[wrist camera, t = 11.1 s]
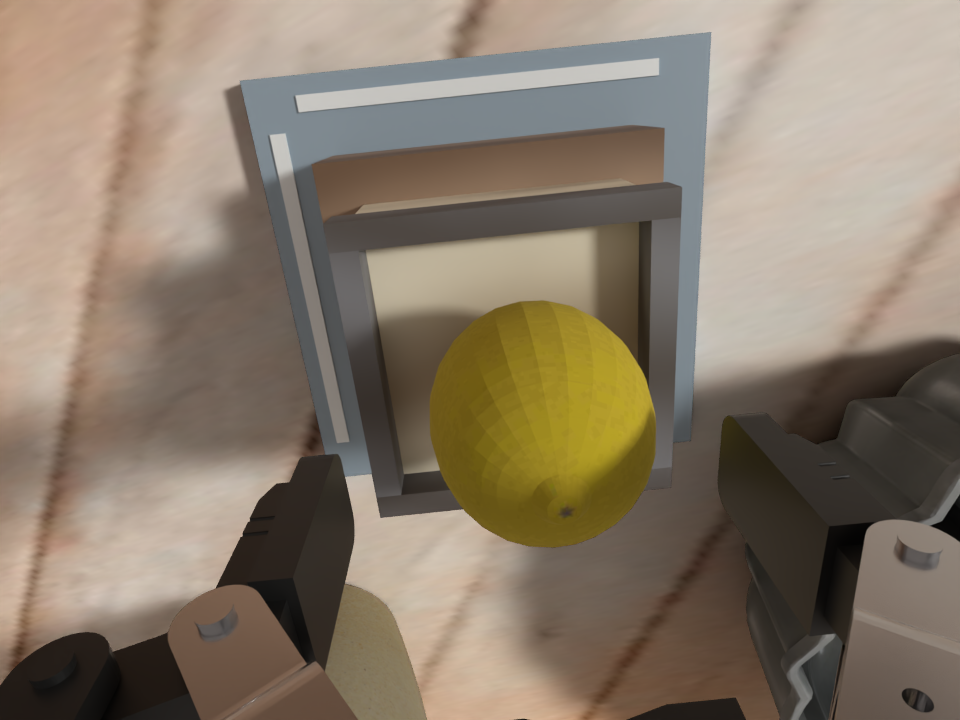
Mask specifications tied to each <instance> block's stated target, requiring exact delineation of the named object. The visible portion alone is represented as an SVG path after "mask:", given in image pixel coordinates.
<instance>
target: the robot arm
mask: <svg viewBox="0 0 960 720" xmlns="http://www.w3.org/2000/svg"><path fill="white" fill-rule="evenodd" d="M718 489H719V495H720V498H721V501H722V504H723V506H724V508H725V510H726V512H727V513H728V515H729V516H730V518H731V519H732V521H733V522H734V524H735V525H736V527H737V528H738V530H739V531H740V533H741V534H742V536H743V537H744V539H745V540H746V542H747V543H748V545H749V546H750V548H751V549H752V551H753V552H754V554H755V555H756V557H757V558H758V560H759V561H760V563H761V564H762V566H763V567H764V569H765V570H766V572H767V573H768V575H769V576H770V578H771V579H772V581H773V582H774V584H775V585H776V587H777V588H778V590H779V591H780V593H781V594H782V596H783V597H784V599H785V600H786V602H787V603H788V605H789V607H790V608H791V610H792V611H793V613H794V614H795V616H796V617H797V619H798V620H799V622H800V623H801V625H802V626H803V628H804V629H805V631H806V632H807V634H808V635H809V636H817V635H827V634H837V636H838V637H839V638H840V640H841V641H842V648H841V652H840V657H839V663H838V668H837V674H836V680H835V685H834V691H833V697H832V702H831V708H830V714H829V719H828V720H960V542H959V541H957V540H956V539H955V538H953V537H952V536H950V535H948V534H946V533H944V532H942V531H940V530H938V529H936V528H933V527H931V526H928V525H925V524H921V523H917V522H913V521H906V520H897V519H896V518H895V517H894V516H893V515H892V514H891V513H890V512H889V511H888V510H887V509H886V508H885V507H883V506H882V505H881V504H880V503H879V502H878V501H877V500H876V499H875V498H874V497H873V496H872V495H871V494H870V493H869V492H868V491H867V490H865V489H864V488H863V487H862V486H861V485H860V484H859V483H858V482H857V481H856V480H855V479H854V478H850V474H849V473H847V472H846V471H845V470H844V469H843V468H842V467H841V466H840V465H836V461H835V460H834V459H833V458H832V457H830V456H829V455H828V454H827V453H826V452H825V451H824V450H823V449H822V448H821V447H820V446H818V445H816V444H814V443H813V442H811V441H809V440H807V439H805V438H803V437H801V436H799V435H797V434H787V433H786V432H785V431H784V430H783V429H782V428H781V427H780V426H779V425H778V424H777V423H776V422H775V421H774V420H773V419H772V418H771V417H770V416H769V415H768V414H766V413H753V414H743V415H733V416H727V417H726V418H725V419H724V421H723V425H722V434H721V446H720V458H719V470H718ZM353 544H354V517H353V512H352V507H351V502H350V498H349V493H348V488H347V484H346V479H345V475H344V470H343V465H342V461H341V458H340V456H339V455H338V454H329V455H318V456H308V457H302V458H300V460H299V462H298V464H297V466H296V469H295V471H294V473H293V476H292V478H291V480H290V482H289V483H279V484H276V485H275V486H273V487H272V488H271V489H270V490H269V491H268V492H267V493H266V494H265V495H264V496H263V497H262V498H261V499H260V500H259V501H258V503H257V505H256V507H255V509H254V511H253V513H252V515H251V517H250V522H248V523H247V525H246V527H245V529H244V531H243V537H240V540H239V542H238V544H237V546H236V548H235V550H234V552H233V554H232V556H231V558H230V560H229V562H228V564H227V566H226V568H225V570H224V572H223V574H222V576H221V578H220V580H219V583H218V585H217V587H216V589H213V590H210V591H208V592H206V593H204V594H202V595H200V596H199V597H197V598H195V599H194V600H193V601H191V602H190V603H188V604H187V605H186V606H185V607H184V608H183V609H182V610H181V611H180V612H179V613H178V614H177V615H176V617H175V618H174V620H173V621H172V623H171V625H170V628H169V631H168V633H166V634H163V635H161V636H158V637H155V638H152V639H149V640H147V641H144V642H141V643H138V644H135V645H132V646H129V647H126V648H123V649H120V650H117V651H114V652H112V650H111V648H110V646H109V643H108V641H107V640H106V639H105V637H103V636H102V635H100V634H97V633H90V632H84V633H77V634H72V635H68V636H65V637H62V638H60V639H57V640H55V641H52V642H50V643H49V644H47V645H45V646H43V647H41V648H40V649H38V650H36V651H35V652H33V653H32V654H31V655H29V656H28V657H26V658H25V659H24V660H23V661H22V662H20V663H19V664H18V665H17V666H16V667H15V668H14V669H13V670H12V671H11V672H10V674H9V675H8V676H7V677H6V679H5V680H4V681H3V683H2V684H1V685H0V720H358V719H357V717H356V716H355V715H354V713H353V712H352V710H351V709H350V707H349V706H348V705H347V703H346V702H345V700H344V699H343V697H342V696H341V695H340V693H339V692H338V690H337V689H336V687H335V686H334V685H333V683H332V682H331V680H330V679H329V677H328V676H327V674H326V673H325V669H326V664H327V660H328V655H329V651H330V647H331V642H332V638H333V633H334V629H335V624H336V620H337V616H338V611H339V607H340V602H341V598H342V593H343V589H344V585H345V580H346V576H347V571H348V567H349V562H350V558H351V554H352V549H353ZM516 720H528V719H516ZM627 720H746V719H745V717H744V714H743V712H742V710H741V708H740V706H739V704H738V702H737V700H736V698H728V699H718V700H708V701H698V702H687V703H677V704H667V705H664V706H661V707H659V708H656V709H654V710H651V711H648V712H646V713H643V714H641V715H638V716H635V717H633V718H630V719H627Z"/></svg>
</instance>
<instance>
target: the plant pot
mask: <svg viewBox="0 0 960 720" xmlns="http://www.w3.org/2000/svg"><path fill="white" fill-rule="evenodd" d="M325 673H326V674H327V676H328V677H329V679H330V680H331V682H332V683H333V685H334V686H335V687H336V689H337V690H338V692H339V693H340V695H341V696H342V697H343V699H344V700H345V702H346V703H347V705H348V706H349V707H350V709H351V710H352V712H353V713H354V715H355V716H356V717H357V719H358V720H427V717H426V713H425V709H424V706H423V702H422V698H421V695H420V691H419V687H418V684H417V681H416V678H415V674H414V671H413V668H412V665H411V662H410V659H409V656H408V653H407V650H406V647H405V644H404V642H403V639H402V636H401V634H400V631H399V628H398V626H397V623H396V621H395V618H394V616H393V614H392V612H391V611H390V610H389V608H388V607H387V606H386V605H385V604H384V603H383V602H382V601H381V600H380V599H379V598H377V597H376V596H374V595H373V594H371V593H369V592H367V591H365V590H363V589H361V588H357V587H354V586H350V585H346V584H345V585H344V589H343V593H342V598H341V602H340V607H339V611H338V616H337V620H336V624H335V629H334V633H333V638H332V642H331V647H330V651H329V655H328V660H327V664H326V669H325Z"/></svg>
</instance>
